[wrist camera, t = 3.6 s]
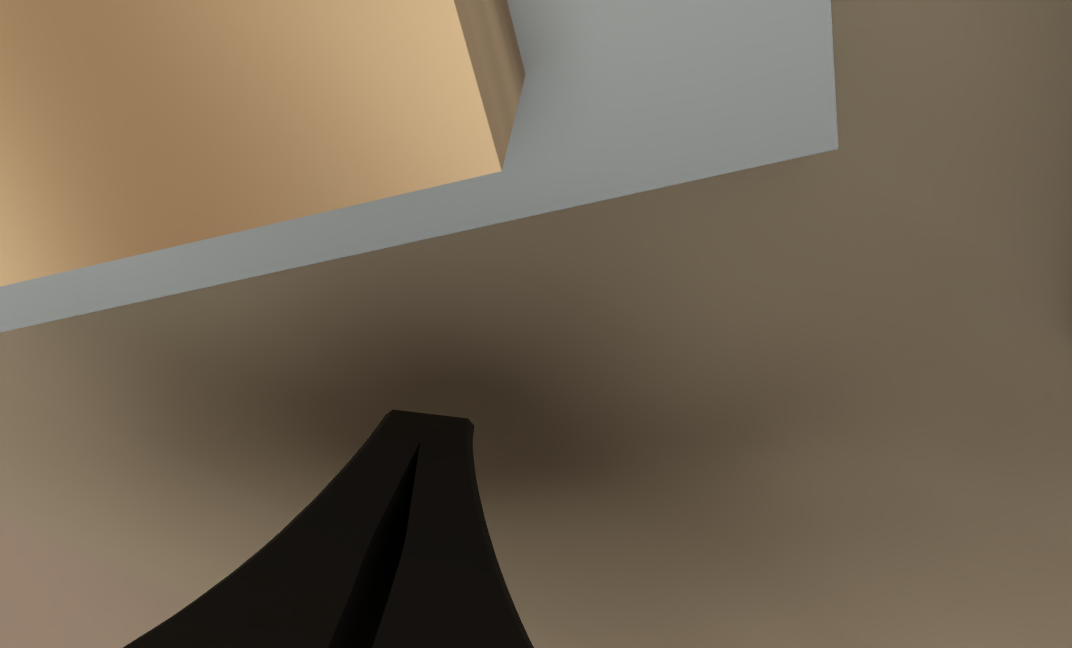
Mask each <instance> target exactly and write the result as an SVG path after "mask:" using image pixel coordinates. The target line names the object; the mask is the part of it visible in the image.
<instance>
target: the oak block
mask: <svg viewBox="0 0 1072 648" xmlns="http://www.w3.org/2000/svg"><path fill="white" fill-rule="evenodd" d="M524 78H525V71H524V67H523V63H522V59H521V55H520V50H519V46H518V42H517V38H516V34H515V30H514V26H513V22H512V18H511V14H510V10H509V6H508V2H507V0H0V287H1V286H5V285H9V284H14V283H18V282H22V281H27V280H31V279H35V278H40V277H44V276H48V275H53V274H57V273H61V272H66V271H70V270H75V269H79V268H83V267H88V266H92V265H96V264H101V263H105V262H109V261H114V260H118V259H122V258H127V257H131V256H135V255H140V254H144V253H148V252H153V251H157V250H161V249H166V248H170V247H174V246H179V245H183V244H188V243H192V242H196V241H201V240H205V239H209V238H214V237H218V236H222V235H227V234H231V233H235V232H240V231H244V230H248V229H253V228H257V227H261V226H266V225H270V224H274V223H279V222H283V221H287V220H292V219H296V218H301V217H305V216H309V215H314V214H318V213H322V212H327V211H331V210H335V209H340V208H344V207H348V206H353V205H357V204H361V203H366V202H370V201H374V200H379V199H383V198H387V197H392V196H396V195H401V194H405V193H409V192H414V191H418V190H422V189H427V188H431V187H435V186H440V185H444V184H448V183H453V182H457V181H461V180H466V179H470V178H474V177H479V176H483V175H487V174H492V173H496V172H500V171H502V168H503V164H504V160H505V156H506V152H507V148H508V144H509V139H510V135H511V131H512V127H513V123H514V119H515V115H516V111H517V107H518V103H519V99H520V95H521V90H522V86H523V82H524Z"/></svg>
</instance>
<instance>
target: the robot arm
mask: <svg viewBox="0 0 1072 648" xmlns="http://www.w3.org/2000/svg"><path fill="white" fill-rule="evenodd" d="M473 432H474V425H473V424H472V423H471V421H470V420H469V419H466V418H458V417H449V416H441V415H433V414H424V413H416V412H408V411H400V410H392V411H391V412H389V413H388V414H386V415H385V417H384V418H383V420H382V421H381V422H380V424H379V425H378V426H377V428H376V429H375V430H374V432H373V433H372V434H371V436H370V437H369V438H368V439H367V441H366V442H365V443H364V444H363V446H362V447H361V448H360V449H359V450H358V452H357V453H356V454H355V455H354V456H353V458H352V459H351V460H350V461H349V462H348V463H347V464H346V466H345V467H344V468H343V469H342V470H341V471H340V472H339V473H338V474H337V475H336V477H335V478H334V479H333V480H332V481H331V482H330V483H329V484H328V485H327V486H326V487H325V489H324V490H323V491H322V492H321V493H320V494H319V495H318V496H317V497H316V498H315V499H314V500H313V501H312V502H311V503H310V504H309V505H308V506H307V507H306V508H305V509H304V510H303V511H302V512H301V513H299V514H298V515H297V516H296V517H295V518H294V519H293V520H292V521H291V522H290V523H289V524H288V525H287V526H286V527H285V528H284V529H283V530H282V531H281V532H280V533H279V534H277V535H276V536H275V537H274V538H273V539H272V540H271V541H270V542H268V543H267V544H266V545H265V546H264V547H263V548H262V549H260V550H259V551H258V552H257V553H256V554H254V555H253V556H252V557H251V558H250V559H248V560H247V561H246V562H245V563H243V564H242V565H241V566H240V567H239V568H237V569H236V570H235V571H234V572H232V573H231V574H230V575H229V576H227V577H226V578H225V579H223V580H222V581H220V582H219V583H218V584H216V585H215V586H214V587H212V588H211V589H210V590H208V591H207V592H206V593H204V594H203V595H202V596H200V597H199V598H198V599H196V600H195V601H194V602H192V603H191V604H189V605H188V606H186V607H185V608H184V609H182V610H181V611H179V612H178V613H176V614H175V615H173V616H172V617H171V618H169V619H168V620H166V621H165V622H163V623H161V624H160V625H158V626H157V627H155V628H153V629H152V630H150V631H149V632H147V633H145V634H144V635H142V636H141V637H139V638H137V639H136V640H134V641H133V642H131V643H130V644H128V645H126V646H125V647H123V648H534V647H533V645H532V643H531V641H530V639H529V637H528V635H527V633H526V631H525V629H524V626H523V624H522V622H521V620H520V617H519V615H518V613H517V611H516V608H515V606H514V603H513V601H512V598H511V596H510V594H509V591H508V589H507V586H506V584H505V581H504V578H503V575H502V573H501V570H500V567H499V564H498V561H497V558H496V555H495V552H494V549H493V545H492V542H491V539H490V536H489V532H488V529H487V525H486V521H485V518H484V513H483V509H482V505H481V500H480V496H479V491H478V486H477V481H476V475H475V467H474V459H473Z"/></svg>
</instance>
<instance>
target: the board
mask: <svg viewBox="0 0 1072 648" xmlns="http://www.w3.org/2000/svg"><path fill="white" fill-rule="evenodd" d="M507 2H508V6H509V10H510V14H511V18H512V22H513V26H514V30H515V34H516V38H517V42H518V46H519V50H520V55H521V59H522V63H523V67H524V71H525V78H524V82H523V86H522V90H521V95H520V99H519V103H518V107H517V111H516V115H515V119H514V123H513V127H512V131H511V135H510V139H509V144H508V148H507V152H506V156H505V160H504V164H503V168H502V171H500V172H496V173H492V174H487V175H483V176H479V177H474V178H470V179H466V180H461V181H457V182H453V183H448V184H444V185H440V186H435V187H431V188H427V189H422V190H418V191H414V192H409V193H405V194H401V195H396V196H392V197H387V198H383V199H379V200H374V201H370V202H366V203H361V204H357V205H353V206H348V207H344V208H340V209H335V210H331V211H327V212H322V213H318V214H314V215H309V216H305V217H301V218H296V219H292V220H287V221H283V222H279V223H274V224H270V225H266V226H261V227H257V228H253V229H248V230H244V231H240V232H235V233H231V234H227V235H222V236H218V237H214V238H209V239H205V240H201V241H196V242H192V243H188V244H183V245H179V246H174V247H170V248H166V249H161V250H157V251H153V252H148V253H144V254H140V255H135V256H131V257H127V258H122V259H118V260H114V261H109V262H105V263H101V264H96V265H92V266H88V267H83V268H79V269H75V270H70V271H66V272H61V273H57V274H53V275H48V276H44V277H40V278H35V279H31V280H27V281H22V282H18V283H14V284H9V285H5V286H1V287H0V332H4V331H9V330H14V329H18V328H23V327H27V326H32V325H36V324H41V323H45V322H50V321H55V320H59V319H64V318H68V317H73V316H77V315H82V314H87V313H91V312H96V311H100V310H105V309H109V308H114V307H119V306H123V305H128V304H132V303H137V302H141V301H146V300H151V299H155V298H160V297H164V296H169V295H173V294H178V293H182V292H187V291H192V290H196V289H201V288H205V287H210V286H214V285H219V284H224V283H228V282H233V281H237V280H242V279H246V278H251V277H256V276H260V275H265V274H269V273H274V272H278V271H283V270H287V269H292V268H297V267H301V266H306V265H310V264H315V263H319V262H324V261H329V260H333V259H338V258H342V257H347V256H351V255H356V254H361V253H365V252H370V251H374V250H379V249H383V248H388V247H393V246H397V245H402V244H406V243H411V242H415V241H420V240H424V239H429V238H434V237H438V236H443V235H447V234H452V233H456V232H461V231H466V230H470V229H475V228H479V227H484V226H488V225H493V224H498V223H502V222H507V221H511V220H516V219H520V218H525V217H529V216H534V215H539V214H543V213H548V212H552V211H557V210H561V209H566V208H571V207H575V206H580V205H584V204H589V203H593V202H598V201H603V200H607V199H612V198H616V197H621V196H625V195H630V194H634V193H639V192H644V191H648V190H653V189H657V188H662V187H666V186H671V185H676V184H680V183H685V182H689V181H694V180H698V179H703V178H708V177H712V176H717V175H721V174H726V173H730V172H735V171H740V170H744V169H749V168H753V167H758V166H762V165H767V164H771V163H776V162H781V161H785V160H790V159H794V158H799V157H803V156H808V155H813V154H817V153H822V152H826V151H831V150H835V149H838V131H837V112H836V93H835V74H834V55H833V35H832V16H831V0H507Z"/></svg>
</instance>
